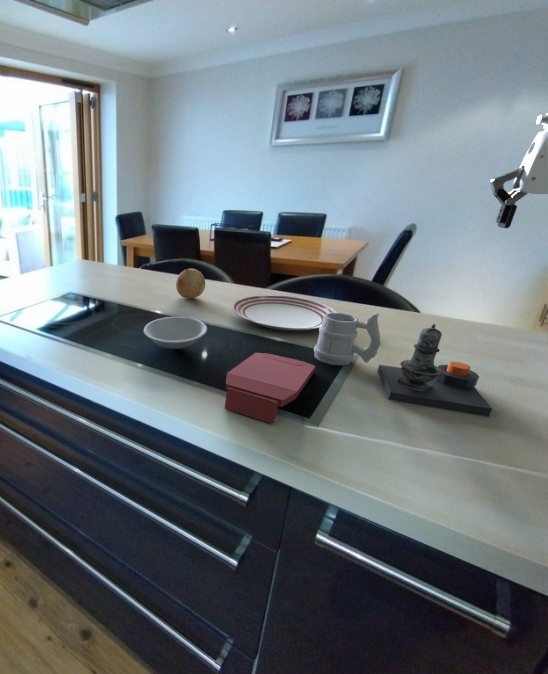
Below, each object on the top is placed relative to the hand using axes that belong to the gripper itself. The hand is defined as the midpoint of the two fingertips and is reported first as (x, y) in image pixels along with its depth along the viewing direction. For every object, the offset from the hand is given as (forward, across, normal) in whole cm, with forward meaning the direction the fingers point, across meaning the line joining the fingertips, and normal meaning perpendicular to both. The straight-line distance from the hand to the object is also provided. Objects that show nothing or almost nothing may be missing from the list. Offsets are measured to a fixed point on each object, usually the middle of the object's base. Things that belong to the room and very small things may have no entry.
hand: (538, 227), depth 70 cm
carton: (+28, -40, -25) cm, 55 cm away
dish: (+28, -62, -13) cm, 69 cm away
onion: (+28, -68, +29) cm, 79 cm away
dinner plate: (+28, -39, +17) cm, 51 cm away
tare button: (+25, -9, -12) cm, 29 cm away
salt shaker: (+27, -15, -17) cm, 35 cm away
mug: (+28, -26, -7) cm, 39 cm away
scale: (+28, -13, -16) cm, 35 cm away
